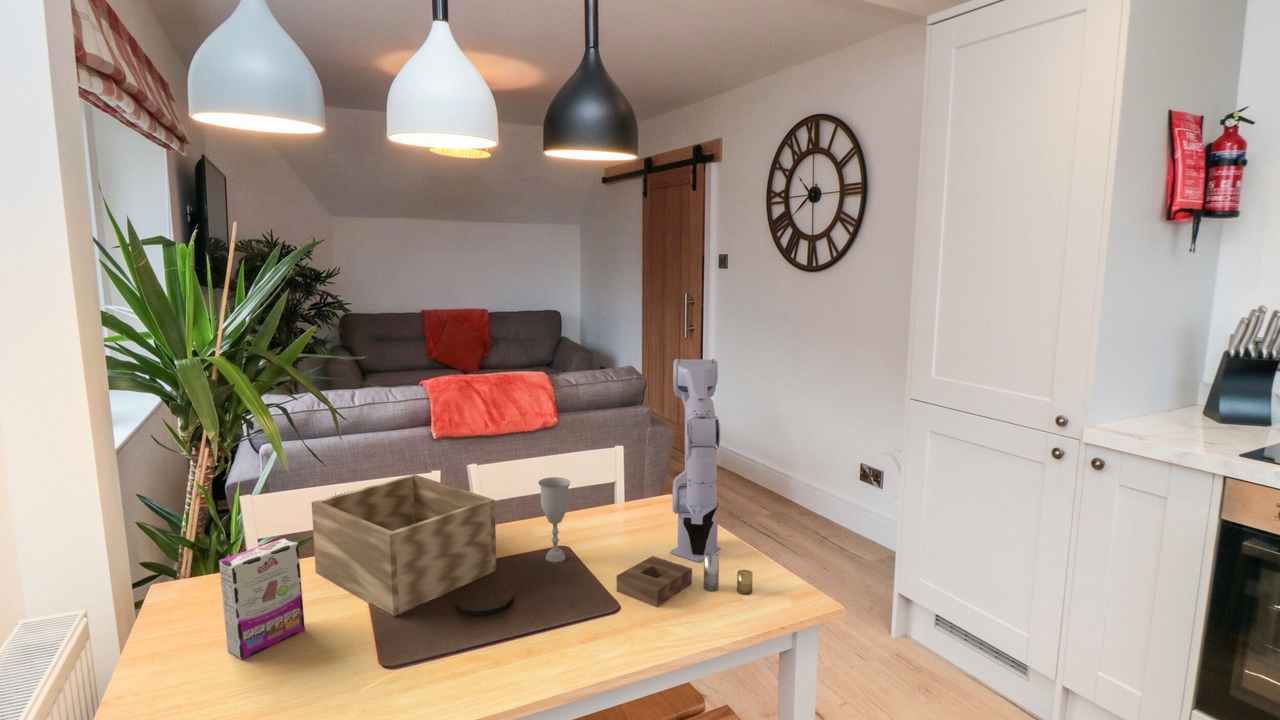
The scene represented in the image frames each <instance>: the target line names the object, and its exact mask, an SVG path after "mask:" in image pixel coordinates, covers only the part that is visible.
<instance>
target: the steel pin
mask: <svg viewBox="0 0 1280 720" xmlns="http://www.w3.org/2000/svg"><path fill="white" fill-rule="evenodd" d="M719 574H720V554H718V553H716V552H715V553H706V554H704V560H703V590H704V591H706V592H710V593H711V592H712V593H713V592H717V591H719V585H720V584H719V580H720V579H719V578H720V575H719Z"/></svg>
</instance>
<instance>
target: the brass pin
mask: <svg viewBox="0 0 1280 720" xmlns="http://www.w3.org/2000/svg"><path fill="white" fill-rule="evenodd" d="M736 575H737V577H736V578H737V579H736V581H737V583H736V592H737V593H738V594H739V595H741V596H750V595H753V594H752V593H753V579H754V578H753V575H754V574H753V572H752V571H751V570H749V569H739V570H738V571H737V574H736Z"/></svg>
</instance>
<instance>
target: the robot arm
mask: <svg viewBox="0 0 1280 720" xmlns="http://www.w3.org/2000/svg"><path fill="white" fill-rule="evenodd" d="M672 365H673V367H672V368H673V369H672V370H673V371H672V377H673V380H672V381H673V392H674V396H675V397H677V398H680V399H681V400H682V404H683V407H684V470H683V471H682V472H681V473H680V474H678V475H677V476H676V477H675V478H674V480H673V481H672V493H671V494H672V495H671V496H672V499H671V501H672V502H671V504H672V505H671V506H672V512H673V513H674V514H676V515H677V547H675V548H673V549H671V550H669V554H671V555H674V556H677V557H681V558H684V559H687V560H690V561H693V562H696V563H700V562H702V561H704V554H706V553H716V552H718V551H720V550H721V546H719V545H718V527H719V526H718V524H719V523H718V519H717V516H716V515H715V513H716V512H718V511H717V510H718V506H719V504H718V490H717V477H718V476H717V469H718V468H717V466H718V449H719V448H720V444H721V424H720V419H719V418H718V415H716V412H715V411H716V410H715V405H714V403H715V402H714V400H713V399H712V398H711V397H714V395H715V393H716V388H717V384H718V379H719V378H718V377H719V370H718V369H719V366H718V361H717V360H716V359H715V358H712V359H705V358H704V359H703V358H702V359H698V358H697V359H696V358H695V359H694V358H693V359H691V358H690V359H689V358H687V359H686V358H685V359H683V358H680V359H679V358H675V359H674V360H673V364H672Z"/></svg>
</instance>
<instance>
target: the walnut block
mask: <svg viewBox="0 0 1280 720" xmlns="http://www.w3.org/2000/svg"><path fill="white" fill-rule="evenodd" d="M692 577H693V567H692V568H691V567H689V566H685V565H681V564H679V563H677V562H673V561H669V560H667V559H663V558H660V557H658V556H654V555H651V556H650V557H648V558H646V559H644V560H643V561H641V562H639V563H637V564H635V565H634V566H631V567H630V568H628V569H626V570H624V571H623V572H620V573H619V574H616V592H617V593H619V594H622V595H624V596H627V597H630V598H632V599H635V600H637V601H639V602H643V603H645V604H647V605H650V606H653V607H655V608H659V607H660V606H662V605H663V604H665V603H666V602H668V601H669V600H670V599H672V598H674V597H675V596H676V595H678V594H680V593H681V592H683V591H684V590H685V589H686V588H689V587H690V586H691V585H692V583H693V578H692Z"/></svg>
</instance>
